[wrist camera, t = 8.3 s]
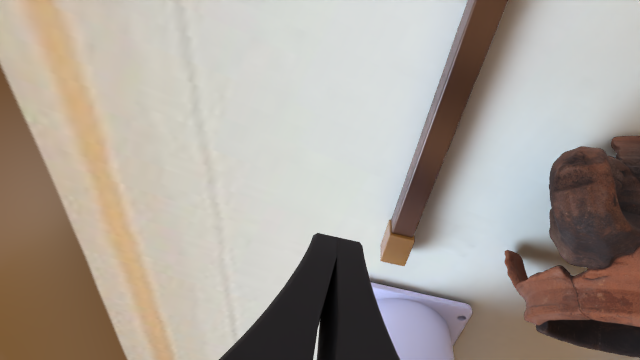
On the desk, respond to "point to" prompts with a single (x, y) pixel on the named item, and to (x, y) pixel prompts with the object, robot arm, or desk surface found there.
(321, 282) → the robot arm
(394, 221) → the walnut slot
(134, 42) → the desk surface
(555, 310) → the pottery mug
